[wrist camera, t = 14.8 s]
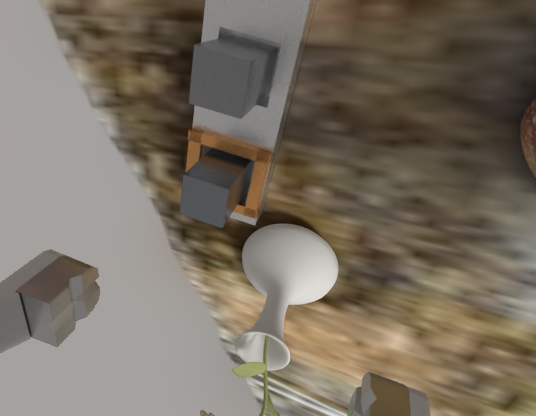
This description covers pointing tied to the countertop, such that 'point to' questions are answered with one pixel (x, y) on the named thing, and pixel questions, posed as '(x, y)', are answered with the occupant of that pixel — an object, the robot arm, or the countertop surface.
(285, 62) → the rail
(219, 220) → the gray rectangular block
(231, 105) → the switch
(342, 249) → the countertop surface
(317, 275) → the flower in vase
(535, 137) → the bread
